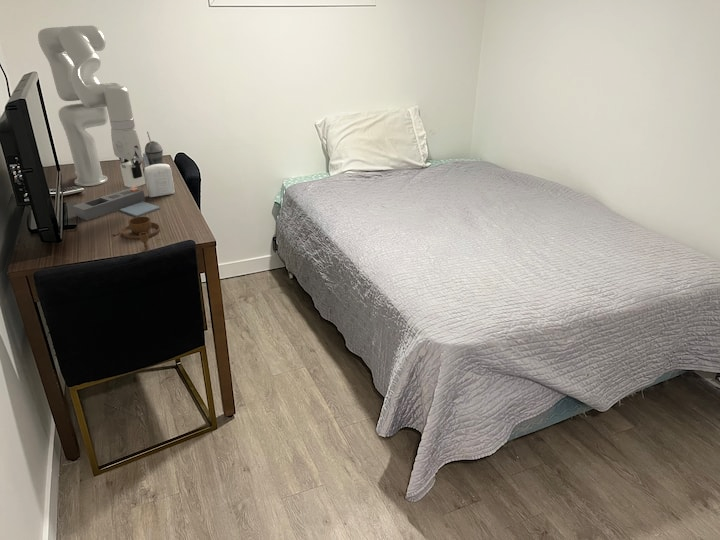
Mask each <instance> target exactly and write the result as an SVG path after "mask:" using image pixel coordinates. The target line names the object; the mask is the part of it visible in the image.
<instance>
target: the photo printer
mask: <svg viewBox="0 0 720 540" xmlns="http://www.w3.org/2000/svg"><path fill="white" fill-rule="evenodd" d="M143 173H144V178H145V183H146V184H145V186H146V191H147V196H148V197H149V198H155V197H162V196H166V195H173V194H176V193H175V192H176V191H175V184H174V179H173V172H172V167H171V166H170V165H169V164H167V163H163V164H154V165H150V166H148V167H146V168H145V167H144V168H143Z"/></svg>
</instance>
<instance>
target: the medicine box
mask: <svg viewBox="0 0 720 540" xmlns="http://www.w3.org/2000/svg"><path fill="white" fill-rule="evenodd" d="M142 157H143V162H144V168H146V167H148V166H149V162H148V159H147V156H146V153H145V151H144V152H143V153H142Z"/></svg>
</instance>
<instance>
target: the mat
mask: <svg viewBox="0 0 720 540" xmlns="http://www.w3.org/2000/svg"><path fill="white" fill-rule="evenodd" d="M157 209H158V210H161V206H158V205H156V204H155V205H154V204H152V203H148V202H145V201H143V202H140V203H137V204H134V205H131V206H128V207H125V208H122V209H120V210H119V212H122V213H125V214H126V215H129V216H133V217H134V218H135V217H142V216H144V215H146V213H147V214H149V213H151V212H152V213H153V212H155V211H158V210H157ZM154 210H155V211H154ZM143 214H144V215H143Z"/></svg>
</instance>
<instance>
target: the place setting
mask: <svg viewBox="0 0 720 540" xmlns="http://www.w3.org/2000/svg"><path fill="white" fill-rule="evenodd" d="M127 224H128V225H127V226H125V227H124V228H121V229H119V230H118V231H115V232H113V234H112V235H113V236H118V235H120V234H122V235H123V237H125V238H127V239H131V240H140V241H141V242H142V243H143V247H144V250H146V251H147V250H149V248H148V247H149V245H148V244H147V243H148V242H149V238H151V237H153V236H155V235H157V234H158V233H159V232H160V230H161V226H160V224H158V223H156V222H154V221H153V222H152V221H151V218H150V217H148V216H138V217H135V216H134V217H132V218H130V219H129V220H128V222H127ZM152 227H153V228H155V229H156V230H155V231H153V232H150V233H148V232H149V231H150V230H151V228H152ZM128 231H131V232H132V233H134V234H136V235H128V234H126V233H127V232H128ZM158 240H159V241H162V238H161V239H160V238H159V239H157V241H158Z"/></svg>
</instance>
